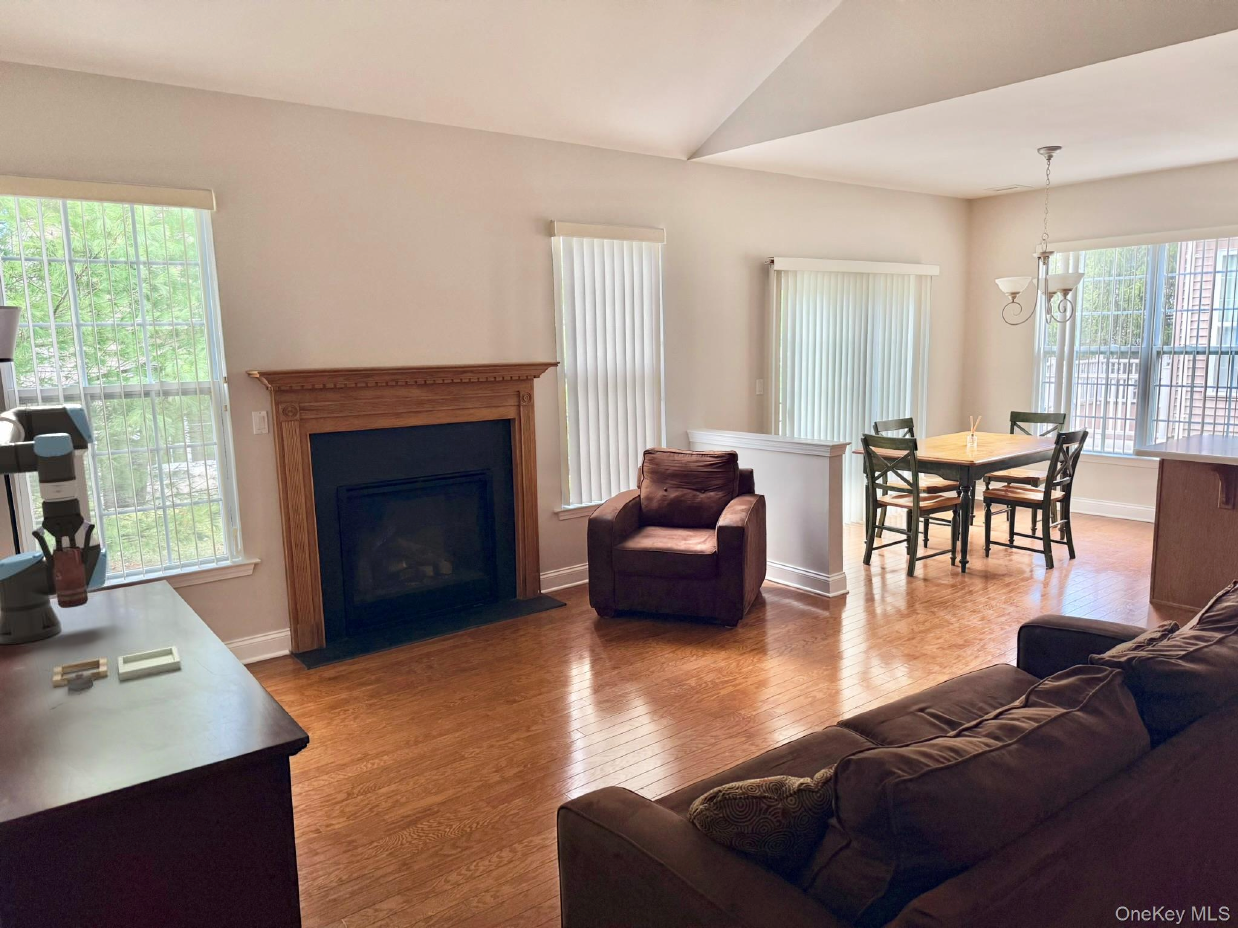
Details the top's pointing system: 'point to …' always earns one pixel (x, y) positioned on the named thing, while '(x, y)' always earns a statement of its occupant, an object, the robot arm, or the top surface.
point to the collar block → (80, 674)
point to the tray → (148, 663)
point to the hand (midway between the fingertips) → (72, 594)
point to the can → (70, 577)
